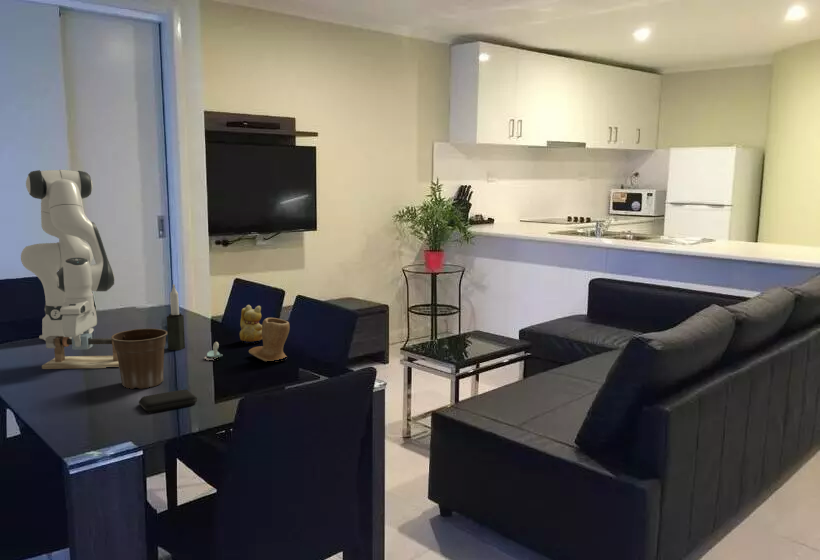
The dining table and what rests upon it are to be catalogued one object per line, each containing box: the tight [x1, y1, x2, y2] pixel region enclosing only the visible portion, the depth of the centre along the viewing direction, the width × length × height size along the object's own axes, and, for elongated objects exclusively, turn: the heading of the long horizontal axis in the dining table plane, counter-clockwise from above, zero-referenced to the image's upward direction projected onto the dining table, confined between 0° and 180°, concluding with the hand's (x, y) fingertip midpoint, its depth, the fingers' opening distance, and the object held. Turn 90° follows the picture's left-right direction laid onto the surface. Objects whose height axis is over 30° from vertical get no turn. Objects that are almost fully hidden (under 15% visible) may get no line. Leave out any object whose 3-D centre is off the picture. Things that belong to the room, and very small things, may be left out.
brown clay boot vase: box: [248, 317, 291, 362], centre depth 239 cm, size 15×12×15 cm
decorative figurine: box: [239, 304, 263, 342], centre depth 262 cm, size 10×8×15 cm
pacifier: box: [203, 341, 223, 361], centre depth 239 cm, size 7×6×6 cm
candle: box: [166, 283, 186, 351], centre depth 251 cm, size 5×5×25 cm
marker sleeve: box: [71, 333, 94, 351], centre depth 230 cm, size 5×5×5 cm
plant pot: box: [111, 328, 168, 390], centre depth 208 cm, size 16×16×16 cm
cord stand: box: [41, 336, 119, 370], centre depth 231 cm, size 12×26×10 cm, turn 95°
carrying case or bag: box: [138, 389, 198, 413], centre depth 190 cm, size 11×3×15 cm
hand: (82, 344), depth 230 cm, fingers closed on marker sleeve, 5 cm apart
